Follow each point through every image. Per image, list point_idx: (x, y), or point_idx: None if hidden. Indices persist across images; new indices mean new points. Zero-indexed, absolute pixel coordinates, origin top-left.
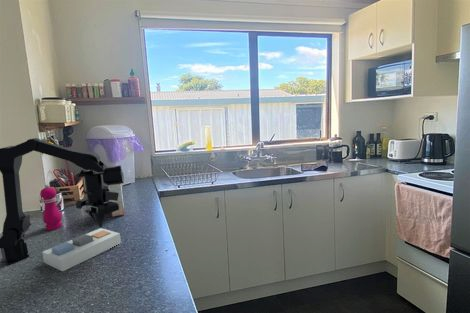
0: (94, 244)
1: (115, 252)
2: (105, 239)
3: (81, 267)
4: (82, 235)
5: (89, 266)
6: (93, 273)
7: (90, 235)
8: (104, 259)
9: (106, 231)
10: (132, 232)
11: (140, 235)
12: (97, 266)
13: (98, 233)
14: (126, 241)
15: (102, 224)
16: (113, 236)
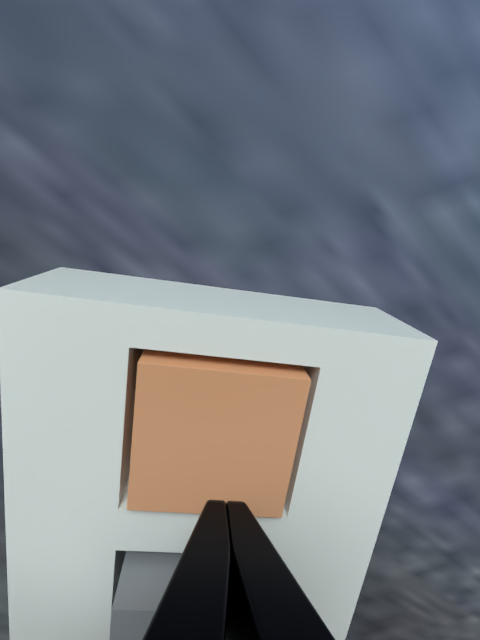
0: (352, 600)
1: (436, 437)
2: (379, 503)
3: (352, 625)
4: (119, 638)
5: (392, 603)
6: (471, 630)
7: (109, 500)
8: (425, 525)
9: (230, 375)
10: (307, 24)
11: (461, 77)
12: (441, 586)
13: (175, 450)
14: (398, 256)
15: (261, 529)
16: (410, 421)
